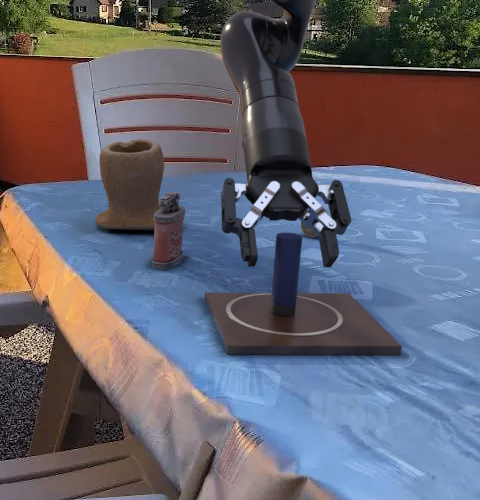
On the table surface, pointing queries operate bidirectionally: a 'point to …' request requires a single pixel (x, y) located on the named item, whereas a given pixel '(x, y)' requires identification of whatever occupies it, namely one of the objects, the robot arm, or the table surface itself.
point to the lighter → (168, 232)
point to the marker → (286, 274)
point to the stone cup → (131, 184)
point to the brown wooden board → (298, 326)
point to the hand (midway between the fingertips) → (291, 263)
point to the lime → (309, 231)
